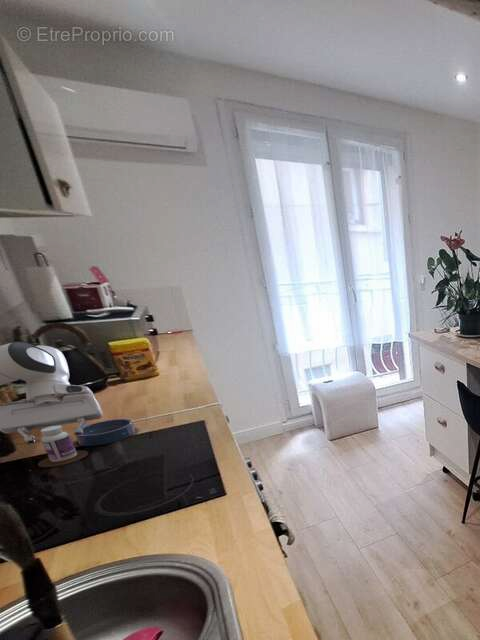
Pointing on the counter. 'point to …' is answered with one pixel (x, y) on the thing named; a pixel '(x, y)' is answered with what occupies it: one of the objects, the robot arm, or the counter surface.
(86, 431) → the bowl
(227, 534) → the counter surface
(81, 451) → the coaster
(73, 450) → the pill bottle
